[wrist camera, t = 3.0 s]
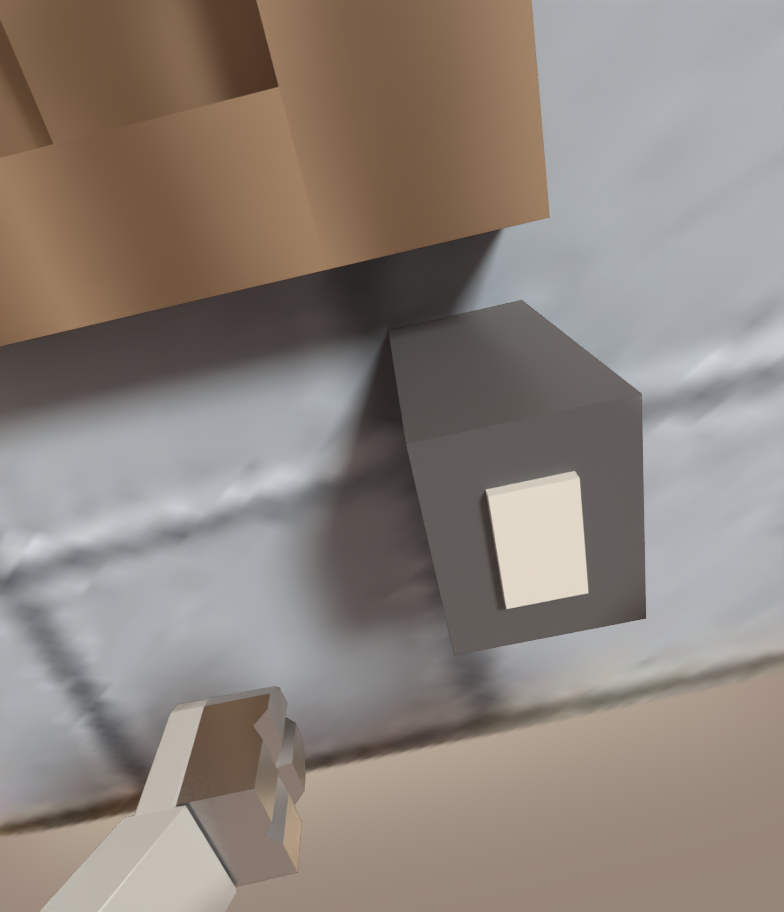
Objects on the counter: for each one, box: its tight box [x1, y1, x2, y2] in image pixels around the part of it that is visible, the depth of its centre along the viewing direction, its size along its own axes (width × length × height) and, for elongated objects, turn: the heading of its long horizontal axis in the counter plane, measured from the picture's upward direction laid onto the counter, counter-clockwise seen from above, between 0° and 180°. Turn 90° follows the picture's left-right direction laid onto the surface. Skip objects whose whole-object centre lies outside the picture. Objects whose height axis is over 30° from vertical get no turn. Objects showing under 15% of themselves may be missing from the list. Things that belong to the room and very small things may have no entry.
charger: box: [388, 300, 646, 655], centre depth 14 cm, size 4×5×8 cm
